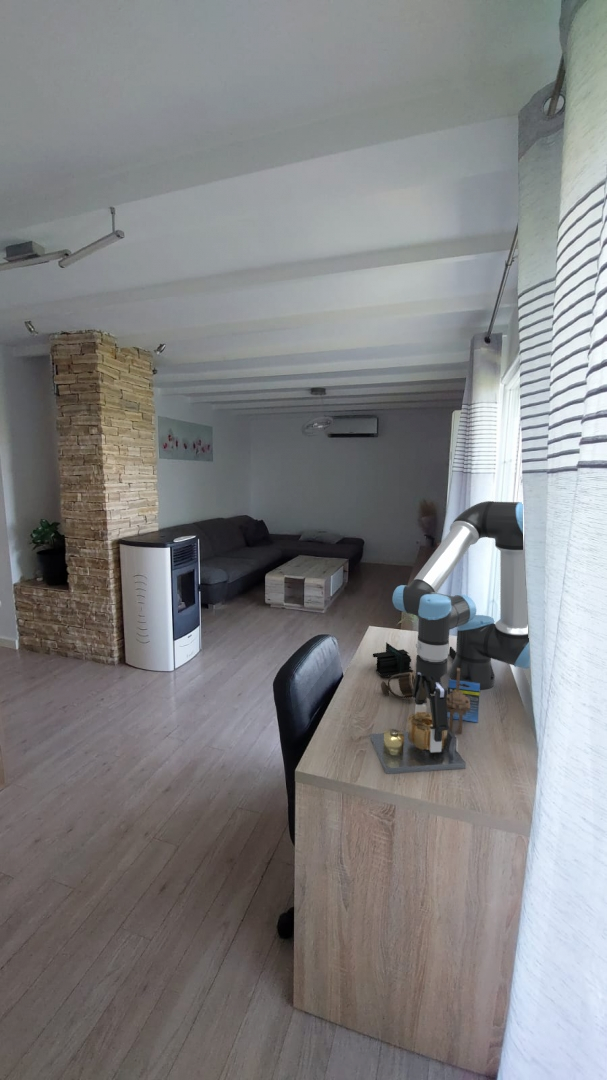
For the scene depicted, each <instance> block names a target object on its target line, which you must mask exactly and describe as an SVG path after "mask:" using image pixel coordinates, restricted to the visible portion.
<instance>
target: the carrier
mask: <svg viewBox="0 0 607 1080" xmlns="http://www.w3.org/2000/svg"><path fill="white" fill-rule="evenodd" d="M370 740H371V742H372V745H373V748H374V750H375V752H376V754H377V756H378V758H379V760H380V763H381V765H382V768H383V770H384V771H385V774H386V775H391V774H402V773H403V774H405V773H414V772H417V773H418V772H432V771H433V772H434V771H445V770H446V771H447V770H460V769H466V765H467V764H466V761H465V760H464V758H463V757H462V756H461V755H460V753H459V751H458V749H457V741H458V739H457V737H456V735H455V734H454V732H453V730H452V731H451V730H450V729H449V727H448V730H447V744H446V746H445V747H444V749H441V752H430V750H426V749H424V750H422V749H420V748H417V747H415V745H414V743H410V741H409V739H408V731H401V730H399V729H396V728H388V729H385V731H384V732H383V733H379V732H378V733H371V734H370Z"/></svg>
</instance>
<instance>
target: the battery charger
mask: <svg viewBox="0 0 607 1080" xmlns="http://www.w3.org/2000/svg"><path fill="white" fill-rule="evenodd" d="M448 656H450V658H451V660H453V661H454V659H455V657H456V649H454V648H453V647H452V646H449V649H448Z"/></svg>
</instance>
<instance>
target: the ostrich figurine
mask: <svg viewBox="0 0 607 1080" xmlns="http://www.w3.org/2000/svg"><path fill="white" fill-rule="evenodd" d="M459 684H460V668H457V681H456V691H455V690H453V693H450V695H449V694H447V712H450V718H449V725H448V728H449V729H450V730H451V731H452V732H453V727H454V726H453V725H454V719H453V714H454V713H455V712H457V713H459V720H458V734H459V735H462V733H463V720H462V718H463V715H466V710H467V711H469V712H470V699H468V697H465V695H463V694H462V691H459V686H460V685H459ZM456 738H457V737H456ZM457 740H458V738H457Z"/></svg>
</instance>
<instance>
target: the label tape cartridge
mask: <svg viewBox="0 0 607 1080" xmlns="http://www.w3.org/2000/svg"><path fill="white" fill-rule="evenodd" d="M456 681H457V680H451V678H448V685H447V687H446V689H447V694H449V695H450V693H453V690H455V691H456ZM460 684H461V685H463V684H465V685H468V686H469V687H464V686H461V685H459V691H462V694H463V695H465V697H468V699H470V712H469V711H467V710H466V715H463V718H462V721H467V722H473V723H479V711H480V698H481V697H480V696H481V695H480V693H481V691H480V690H481V689H480V683H474V682H466V681H460ZM447 718H448V719H450V712H447ZM453 720H458V721H459V713H457V712H455V713H454V714H453Z"/></svg>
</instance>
